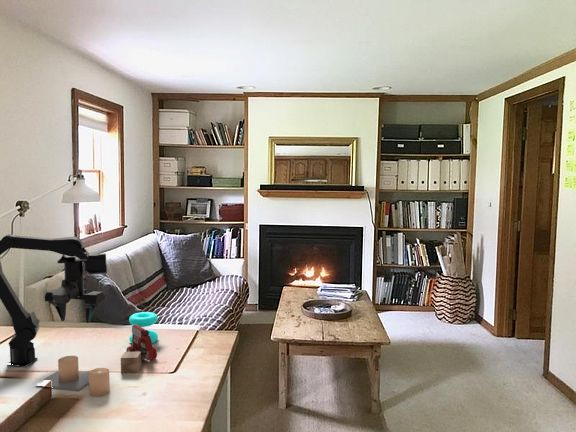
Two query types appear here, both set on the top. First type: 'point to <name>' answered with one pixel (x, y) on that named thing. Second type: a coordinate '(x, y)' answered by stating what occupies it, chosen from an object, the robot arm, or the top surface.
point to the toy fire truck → (142, 343)
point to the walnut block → (130, 362)
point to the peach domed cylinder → (68, 369)
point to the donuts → (144, 323)
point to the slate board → (73, 385)
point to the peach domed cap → (99, 382)
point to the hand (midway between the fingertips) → (75, 321)
